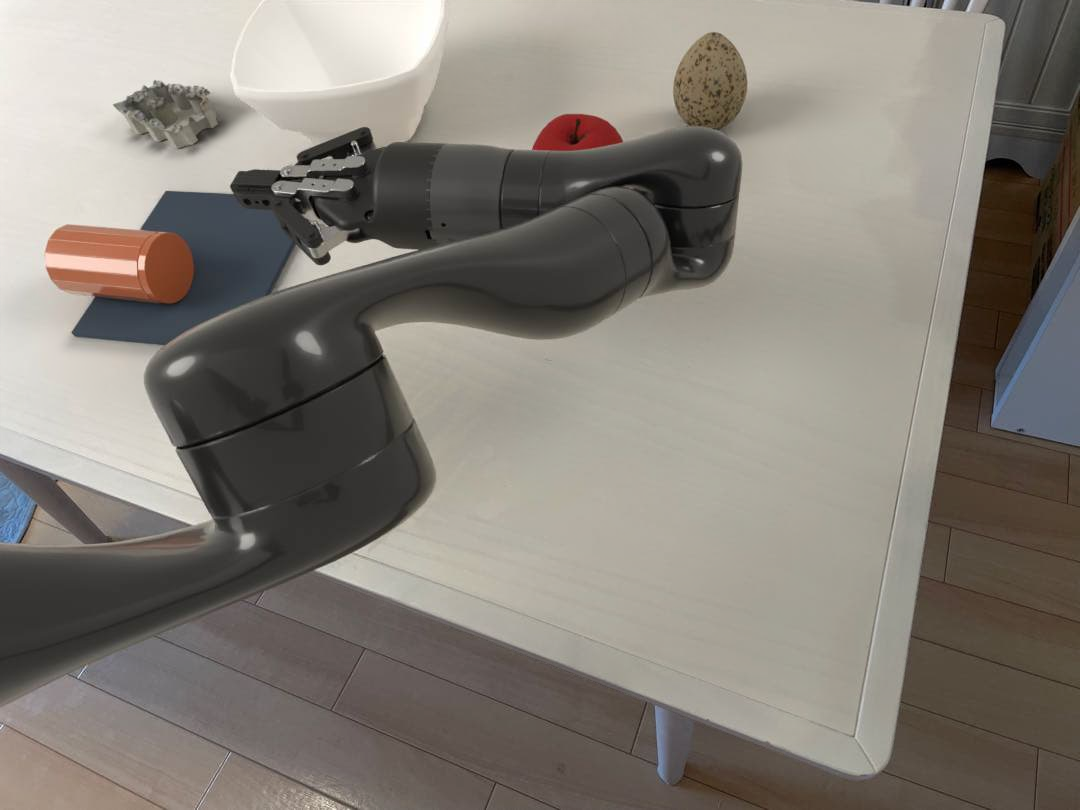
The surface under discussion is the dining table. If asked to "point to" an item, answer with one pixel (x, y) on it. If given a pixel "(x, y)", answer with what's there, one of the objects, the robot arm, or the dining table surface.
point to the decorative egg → (710, 83)
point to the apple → (576, 133)
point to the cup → (119, 263)
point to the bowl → (341, 65)
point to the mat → (199, 268)
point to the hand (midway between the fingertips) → (238, 188)
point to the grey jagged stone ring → (169, 112)
